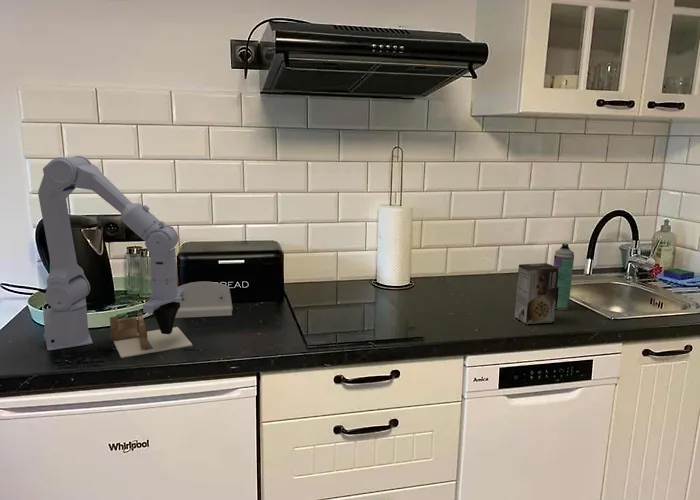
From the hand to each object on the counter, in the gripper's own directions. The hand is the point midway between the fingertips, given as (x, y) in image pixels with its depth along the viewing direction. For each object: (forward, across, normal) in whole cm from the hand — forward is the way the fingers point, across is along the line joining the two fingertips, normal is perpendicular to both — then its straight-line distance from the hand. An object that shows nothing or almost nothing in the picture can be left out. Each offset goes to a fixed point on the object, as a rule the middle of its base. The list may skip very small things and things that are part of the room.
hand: (166, 333), depth 133 cm
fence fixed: (+3, 0, +11) cm, 11 cm away
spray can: (+3, +62, -96) cm, 114 cm away
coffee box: (+3, +46, -88) cm, 99 cm away
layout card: (+3, 0, +4) cm, 5 cm away
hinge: (+3, +24, +4) cm, 25 cm away
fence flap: (+2, -2, +6) cm, 6 cm away
